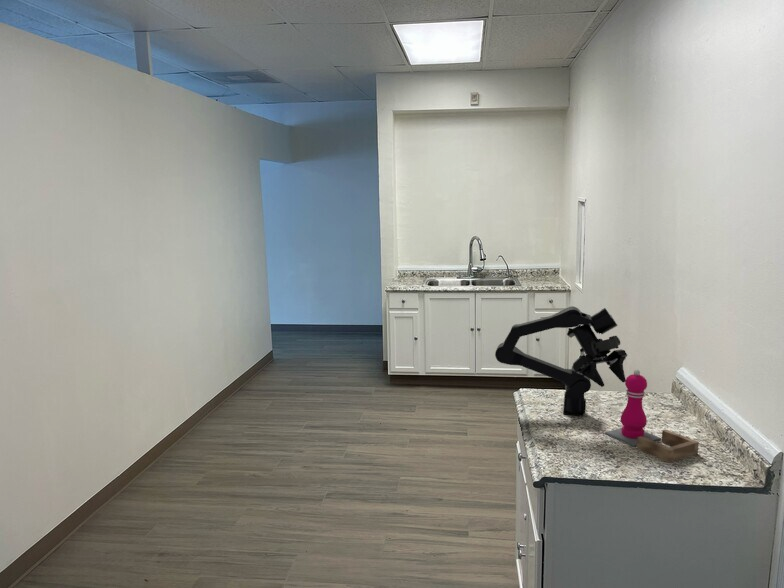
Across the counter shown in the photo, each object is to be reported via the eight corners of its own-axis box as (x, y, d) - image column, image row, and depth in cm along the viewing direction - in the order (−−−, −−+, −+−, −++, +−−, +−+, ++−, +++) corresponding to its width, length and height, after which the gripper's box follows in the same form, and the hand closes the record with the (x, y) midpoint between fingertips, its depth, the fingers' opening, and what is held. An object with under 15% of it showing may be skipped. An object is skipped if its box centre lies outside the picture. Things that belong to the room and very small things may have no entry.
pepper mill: (645, 432, 182) (649, 367, 179) (646, 440, 175) (651, 374, 172) (619, 428, 184) (623, 365, 181) (619, 437, 178) (624, 371, 175)
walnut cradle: (636, 448, 171) (637, 437, 171) (664, 440, 177) (665, 429, 176) (669, 462, 162) (670, 450, 162) (697, 454, 168) (698, 442, 167)
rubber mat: (604, 434, 182) (605, 432, 182) (630, 427, 187) (630, 425, 187) (635, 447, 172) (635, 445, 172) (660, 439, 178) (661, 438, 177)
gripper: (581, 330, 184) (607, 375, 176) (624, 324, 193) (651, 366, 185) (561, 350, 192) (586, 393, 184) (603, 343, 201) (628, 384, 193)
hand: (613, 384), depth 186 cm, fingers open, 9 cm apart
